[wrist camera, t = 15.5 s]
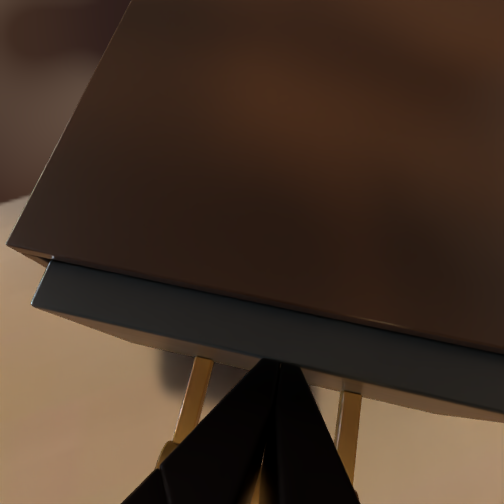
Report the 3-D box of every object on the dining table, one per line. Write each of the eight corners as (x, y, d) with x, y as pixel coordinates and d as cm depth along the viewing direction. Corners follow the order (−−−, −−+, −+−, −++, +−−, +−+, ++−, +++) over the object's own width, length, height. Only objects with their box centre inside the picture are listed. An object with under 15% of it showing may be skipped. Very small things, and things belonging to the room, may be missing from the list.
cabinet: (444, 386, 14) (653, 380, 6) (132, 316, 15) (3, 244, 8) (451, 110, 19) (573, -78, 11) (215, 78, 20) (184, -104, 13)
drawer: (431, 552, 11) (622, 738, 5) (91, 456, 13) (-70, 515, 7) (445, 126, 17) (540, -16, 11) (214, 94, 19) (189, -47, 13)
